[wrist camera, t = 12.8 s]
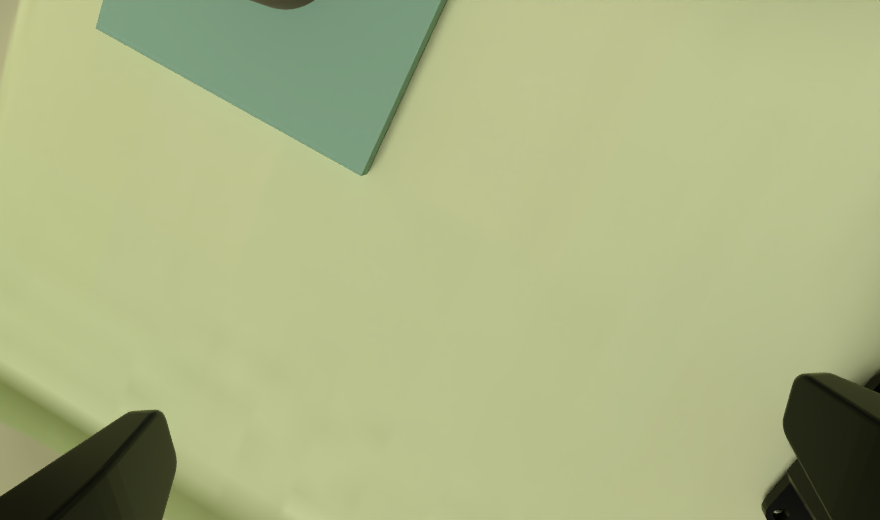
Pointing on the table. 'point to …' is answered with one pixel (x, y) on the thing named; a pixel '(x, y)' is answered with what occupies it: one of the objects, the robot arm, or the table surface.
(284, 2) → the walnut peg
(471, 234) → the table surface
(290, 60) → the green mat
